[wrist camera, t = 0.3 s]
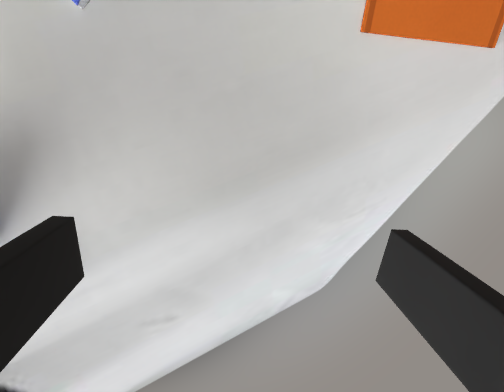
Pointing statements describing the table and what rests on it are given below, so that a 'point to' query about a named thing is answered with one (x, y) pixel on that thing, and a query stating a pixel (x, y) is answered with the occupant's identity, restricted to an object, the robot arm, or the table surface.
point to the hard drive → (81, 3)
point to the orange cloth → (437, 20)
